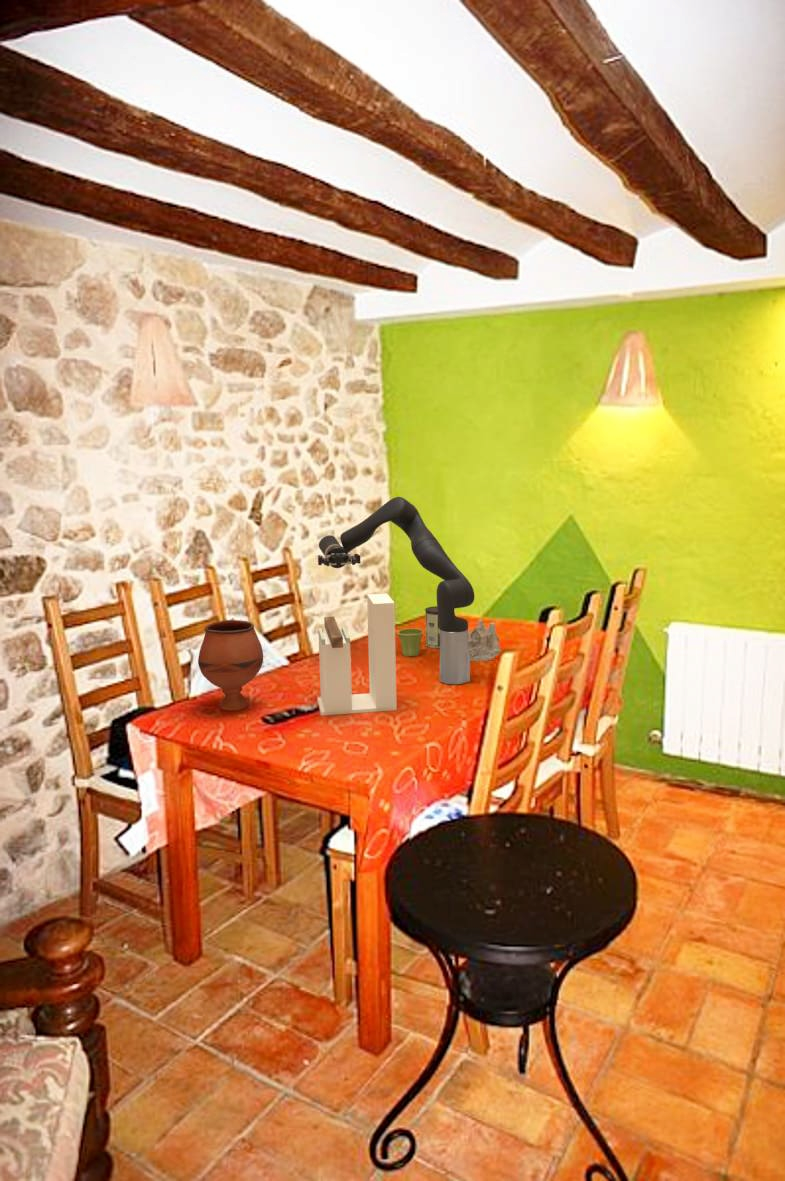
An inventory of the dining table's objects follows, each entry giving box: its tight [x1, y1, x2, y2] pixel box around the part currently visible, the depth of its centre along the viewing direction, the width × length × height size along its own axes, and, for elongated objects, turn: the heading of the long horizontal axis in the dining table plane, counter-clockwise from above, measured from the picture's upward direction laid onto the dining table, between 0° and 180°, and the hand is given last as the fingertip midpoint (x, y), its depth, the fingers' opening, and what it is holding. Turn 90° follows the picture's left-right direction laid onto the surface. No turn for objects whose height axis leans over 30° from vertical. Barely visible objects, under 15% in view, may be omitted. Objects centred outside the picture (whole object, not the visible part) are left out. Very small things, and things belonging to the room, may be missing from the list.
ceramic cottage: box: [468, 619, 502, 663], centre depth 289 cm, size 16×16×15 cm
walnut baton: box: [323, 616, 343, 648], centre depth 236 cm, size 3×26×3 cm, turn 10°
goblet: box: [197, 619, 264, 712], centre depth 238 cm, size 19×19×25 cm
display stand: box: [317, 593, 397, 716], centre depth 236 cm, size 22×14×32 cm, turn 99°
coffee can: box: [424, 605, 440, 649], centre depth 304 cm, size 10×10×14 cm
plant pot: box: [396, 628, 424, 657], centre depth 292 cm, size 9×9×9 cm
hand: (341, 562), depth 264 cm, fingers open, 8 cm apart
